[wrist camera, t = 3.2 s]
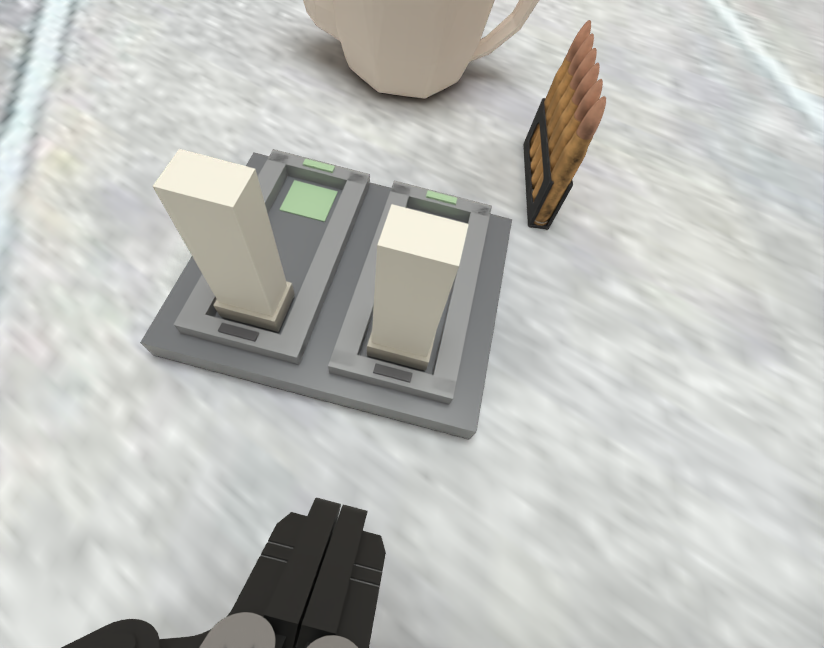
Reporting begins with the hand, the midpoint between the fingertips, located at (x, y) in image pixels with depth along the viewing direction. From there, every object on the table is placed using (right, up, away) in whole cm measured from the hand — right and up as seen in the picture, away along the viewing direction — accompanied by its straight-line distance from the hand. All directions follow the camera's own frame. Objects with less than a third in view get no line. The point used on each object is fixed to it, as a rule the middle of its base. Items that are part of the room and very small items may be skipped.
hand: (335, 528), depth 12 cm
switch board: (-3, +8, +21) cm, 23 cm away
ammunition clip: (+14, +19, +29) cm, 37 cm away
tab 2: (+1, +4, +17) cm, 18 cm away
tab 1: (-8, +7, +17) cm, 20 cm away
